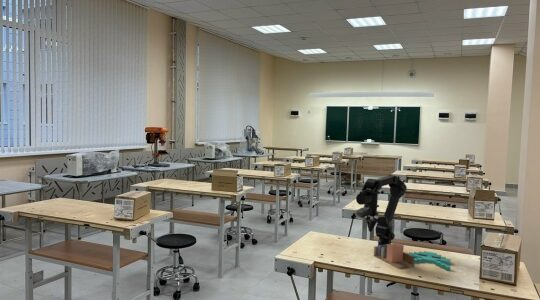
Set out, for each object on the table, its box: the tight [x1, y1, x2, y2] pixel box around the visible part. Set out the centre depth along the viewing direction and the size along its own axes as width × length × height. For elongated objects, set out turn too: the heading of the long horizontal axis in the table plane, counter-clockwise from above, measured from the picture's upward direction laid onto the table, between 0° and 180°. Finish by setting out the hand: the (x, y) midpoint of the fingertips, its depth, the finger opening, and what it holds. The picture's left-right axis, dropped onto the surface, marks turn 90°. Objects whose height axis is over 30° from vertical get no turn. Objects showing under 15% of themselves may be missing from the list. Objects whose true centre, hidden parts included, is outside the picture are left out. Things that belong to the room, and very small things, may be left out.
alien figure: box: [408, 250, 451, 272], centre depth 201 cm, size 20×2×20 cm
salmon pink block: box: [386, 242, 404, 262], centre depth 196 cm, size 7×4×8 cm, turn 114°
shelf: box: [373, 244, 415, 270], centre depth 198 cm, size 9×19×6 cm, turn 24°
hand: (370, 231), depth 208 cm, fingers closed
